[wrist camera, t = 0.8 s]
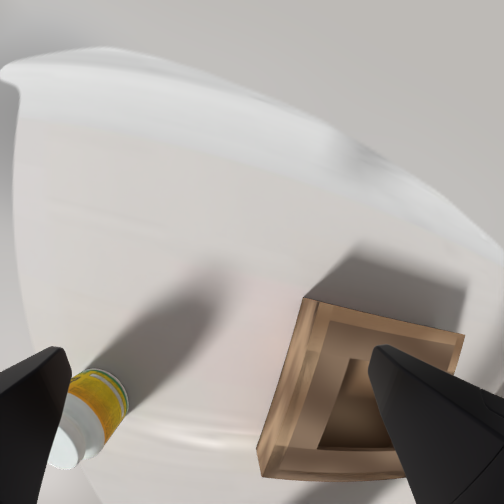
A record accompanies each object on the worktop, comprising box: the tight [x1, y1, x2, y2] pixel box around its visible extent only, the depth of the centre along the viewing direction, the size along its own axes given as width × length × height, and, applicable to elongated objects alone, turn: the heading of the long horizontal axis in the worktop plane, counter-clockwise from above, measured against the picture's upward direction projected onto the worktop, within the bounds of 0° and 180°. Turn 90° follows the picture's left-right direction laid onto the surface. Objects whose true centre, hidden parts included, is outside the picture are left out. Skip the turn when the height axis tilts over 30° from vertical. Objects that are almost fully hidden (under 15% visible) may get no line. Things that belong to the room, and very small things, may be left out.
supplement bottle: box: [47, 369, 129, 470], centre depth 17 cm, size 5×5×10 cm
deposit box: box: [256, 297, 465, 482], centre depth 21 cm, size 14×14×4 cm
